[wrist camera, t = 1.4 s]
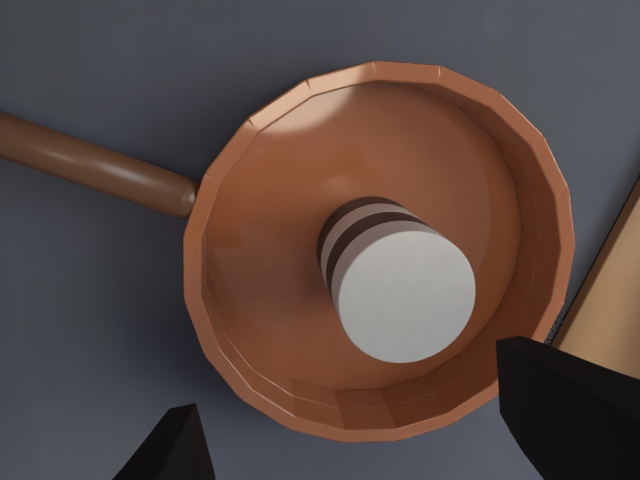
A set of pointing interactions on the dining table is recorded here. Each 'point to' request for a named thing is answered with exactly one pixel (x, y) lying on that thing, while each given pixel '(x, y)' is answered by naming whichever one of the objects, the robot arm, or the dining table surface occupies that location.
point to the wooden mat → (610, 301)
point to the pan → (377, 181)
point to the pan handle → (95, 167)
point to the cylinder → (394, 280)
